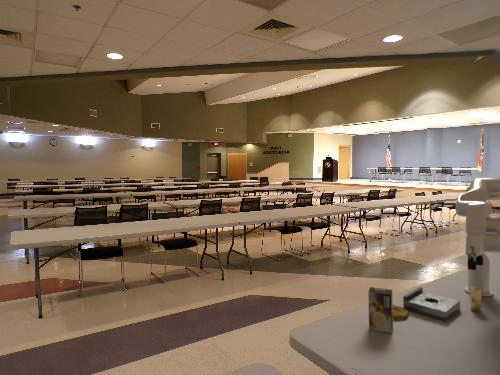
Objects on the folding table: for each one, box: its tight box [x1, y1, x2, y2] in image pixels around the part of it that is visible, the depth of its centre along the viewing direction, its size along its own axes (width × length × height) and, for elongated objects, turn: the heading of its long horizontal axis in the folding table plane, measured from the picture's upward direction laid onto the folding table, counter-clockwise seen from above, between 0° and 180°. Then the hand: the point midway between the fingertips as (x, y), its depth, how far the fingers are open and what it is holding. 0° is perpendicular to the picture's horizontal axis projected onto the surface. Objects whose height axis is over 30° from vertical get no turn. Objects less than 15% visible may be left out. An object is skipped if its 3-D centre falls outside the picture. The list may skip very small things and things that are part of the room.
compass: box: [393, 304, 409, 321], centre depth 151 cm, size 12×12×2 cm
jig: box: [402, 286, 461, 323], centre depth 154 cm, size 18×18×6 cm
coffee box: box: [367, 286, 394, 334], centre depth 137 cm, size 9×6×16 cm
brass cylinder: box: [470, 288, 482, 313], centre depth 153 cm, size 4×4×10 cm
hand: (475, 267), depth 152 cm, fingers open, 9 cm apart
